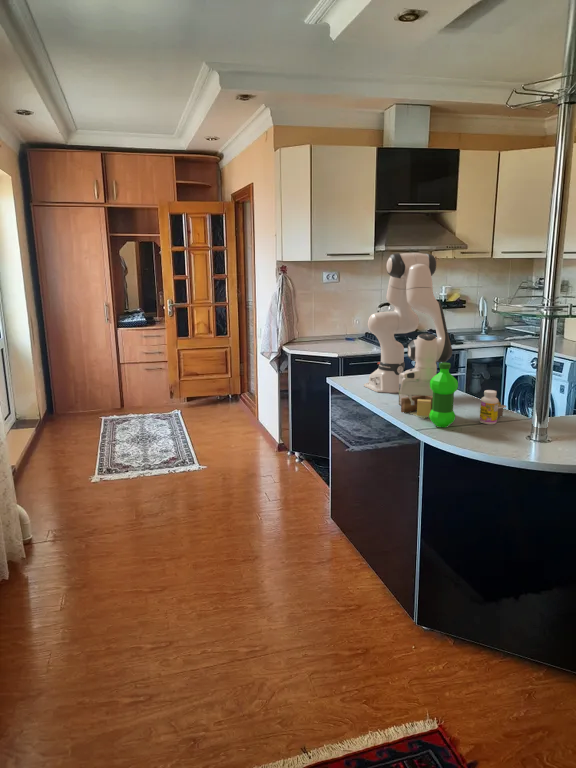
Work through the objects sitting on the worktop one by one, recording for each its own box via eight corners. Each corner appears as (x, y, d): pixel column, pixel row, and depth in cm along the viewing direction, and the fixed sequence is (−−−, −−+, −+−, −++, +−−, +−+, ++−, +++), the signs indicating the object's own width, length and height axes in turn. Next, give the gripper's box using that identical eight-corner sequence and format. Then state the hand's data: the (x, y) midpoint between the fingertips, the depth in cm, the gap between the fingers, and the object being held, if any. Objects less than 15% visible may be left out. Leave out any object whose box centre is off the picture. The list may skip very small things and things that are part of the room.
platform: (465, 416, 234) (466, 401, 233) (500, 411, 240) (501, 397, 239) (484, 424, 223) (486, 408, 222) (521, 419, 229) (522, 403, 228)
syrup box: (416, 404, 252) (417, 373, 248) (409, 407, 247) (410, 375, 244) (404, 402, 255) (405, 371, 252) (397, 405, 251) (398, 373, 248)
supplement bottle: (475, 422, 225) (477, 391, 222) (485, 419, 229) (487, 388, 226) (490, 426, 220) (493, 394, 217) (500, 422, 224) (502, 391, 221)
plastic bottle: (444, 431, 214) (447, 367, 208) (422, 424, 223) (425, 363, 217) (460, 426, 220) (464, 363, 214) (439, 420, 228) (442, 359, 222)
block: (417, 411, 239) (417, 399, 238) (430, 412, 238) (430, 399, 237) (416, 415, 234) (417, 402, 233) (430, 415, 233) (430, 403, 231)
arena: (400, 411, 241) (401, 398, 239) (423, 407, 247) (424, 393, 246) (427, 420, 228) (427, 406, 226) (450, 415, 234) (451, 401, 233)
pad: (410, 413, 237) (410, 413, 237) (423, 410, 241) (423, 410, 241) (423, 418, 231) (423, 417, 231) (437, 415, 235) (437, 414, 235)
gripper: (451, 372, 232) (449, 404, 236) (401, 371, 237) (400, 402, 240) (451, 376, 227) (450, 408, 230) (400, 374, 231) (399, 406, 234)
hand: (424, 405), depth 235 cm, fingers open, 8 cm apart
